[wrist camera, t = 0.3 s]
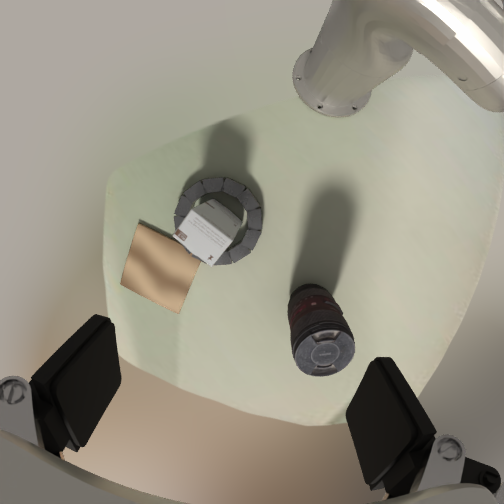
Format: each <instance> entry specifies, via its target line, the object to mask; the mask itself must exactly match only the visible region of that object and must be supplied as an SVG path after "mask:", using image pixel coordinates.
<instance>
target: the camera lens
mask: <svg viewBox="0 0 504 504" xmlns="http://www.w3.org/2000/svg"><path fill="white" fill-rule="evenodd" d="M342 315H343V312H342V310H341V308H340V307H339V305H338V304H337V303H336V302H335V300H334V298H333V297H332V295H331V294H330V293H329V292H328V291H327V290H326V289H324V288H323V287H321V286H319V285H316V284H305V285H302V286H300V287H299V288H297V289H296V290H295V291H294V292H293V294H292V295H291V298H290V300H289V303H288V320H289V325H290V330H291V347H292V354H293V358H294V360H295V362H296V365H297V366H298V368H299V369H300V370H301V371H302V372H304V373H305V374H308V375H311V376H329V375H332V374H335V373H337V372H339V371H341V370H342V369H344V368H345V367H346V366H347V365H348V364H349V363H350V361H351V360H352V358H353V356H354V353H355V342H354V337H353V334H352V332H351V330H350V328H349V326H348V324H347V322H346V320H345V319H344V317H343V316H342Z"/></svg>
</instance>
